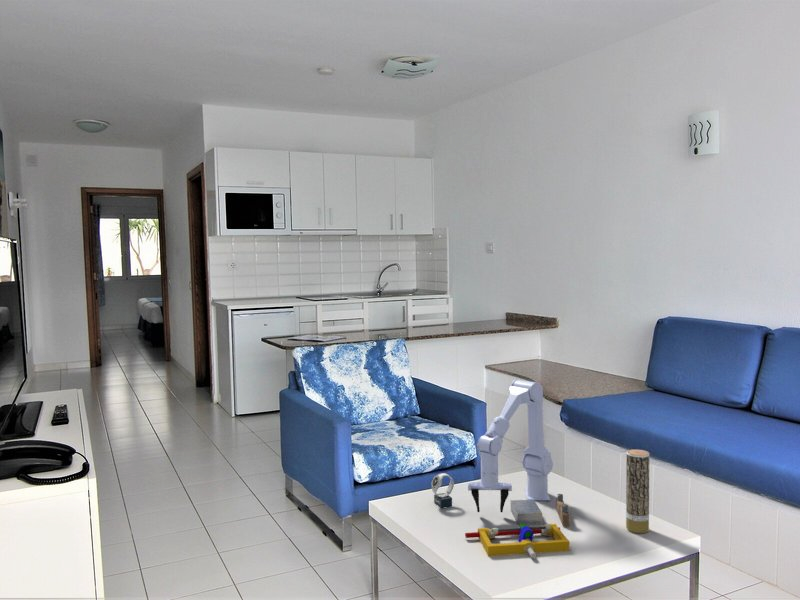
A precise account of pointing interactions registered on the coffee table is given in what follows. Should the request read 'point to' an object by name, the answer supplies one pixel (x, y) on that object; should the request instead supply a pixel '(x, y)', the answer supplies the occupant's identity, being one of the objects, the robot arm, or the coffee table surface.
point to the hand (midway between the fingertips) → (489, 511)
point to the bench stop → (562, 510)
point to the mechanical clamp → (522, 540)
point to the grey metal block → (526, 512)
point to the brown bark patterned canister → (637, 491)
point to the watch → (442, 498)
